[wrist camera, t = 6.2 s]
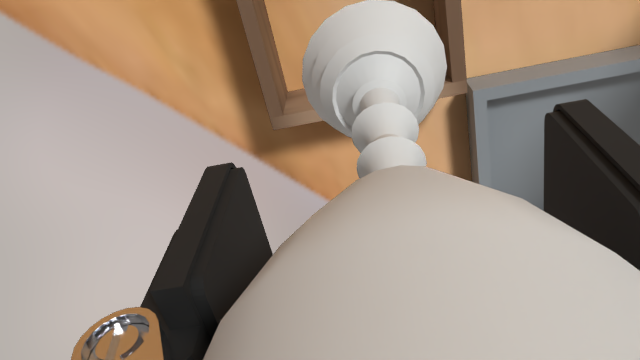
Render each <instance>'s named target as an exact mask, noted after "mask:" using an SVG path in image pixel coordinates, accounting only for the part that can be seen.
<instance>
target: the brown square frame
mask: <svg viewBox="0 0 640 360" xmlns="http://www.w3.org/2000/svg"><path fill="white" fill-rule="evenodd" d="M236 1H237V5H238V8H239V12H240V15H241V19H242V22H243V26H244V29H245V33H246V36H247V40H248V43H249V47H250V50H251V54H252V57H253V61H254V64H255V68H256V71H257V75H258V78H259V82H260V85H261V89H262V92H263V96H264V99H265V103H266V106H267V110H268V113H269V117H270V120H271V124H272V127H273V130H277V129H283V128H288V127H293V126H298V125H303V124H309V123H314V122H319V121H324V120H323V119H321V118H320V117H319V115H318V114H317V112H316V111H315V109H314V108H313V107H312V105H311V104H310V102H309V101H308V98H307V95H306V91H305V89H300V90H295V91H290V92H288V91H287V88H286V84H285V80H284V76H283V72H282V68H281V64H280V61H279V57H278V53H277V49H276V45H275V41H274V37H273V34H272V30H271V26H270V22H269V18H268V14H267V10H266V7H265V3H264V0H236ZM433 3H434V13H435V23H436V32H437V33H438V35H439V37H440V39H441V41H442V43H443V45H444V50H445V57H446V63H447V70H446V75H445V81H444V87H443V90H442V91H441V93H440V95H439V97H438V99H439V98H444V97H449V96H455V95H460V94H465V93H468V92H467V78H466V65H465V51H464V37H463V23H462V9H461V0H433Z"/></svg>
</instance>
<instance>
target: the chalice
mask: <svg viewBox="0 0 640 360" xmlns="http://www.w3.org/2000/svg"><path fill="white" fill-rule="evenodd" d="M446 70H447V63H446V57H445V50H444V45H443V43H442V41H441V39H440V37H439V35H438V33H437V32H436V30H435V28H434V26H433V25H432V24H431V23H430V22H429V21H428V20H427V19H425V18H424V17H423V16H422V15H421V14H420V13H419V12H418V11H416V10H415V9H412V8H410V7H407V6H405V5H402V4H400V3H397V2H395V1H385V0H366V1H363V2H359V3H356V4H352V5H348V6H345V7H344V8H342V9H341V10H339V11H338V12H336V13H335V14H333V15H332V16H330V17H329V18H327V19H326V20H325V21H324V22H323V23H322V25H321V26H320V27H319V28H318V30H317V31H316V32H315V33H314V35H313V36H312V37H311V39H310V42H309V44H308V47H307V50H306V52H305V55H304V58H303V75H302V81H303V85H304V88H305V91H306V95H307V98H308V101H309V102H310V104H311V105H312V107H313V108H314V109H315V111H316V112H317V114H318V115H319V117H320V118H321V119H323V120H324V121H325V122H327V123H328V124H329V125H331V126H332V127H333V128H335V129H336V130H338V131H340V132H341V133H343V134H345V135H346V136H348V137H351V138H352V140H353V143H354V145H355V147H356V148H357V149H358V151H359V152H360V153H361V154H360V156H359V158H358V161H357V172H358V176H359V178H360V179H358V180H356V181H355V182H354V183H352V184H351V185H350V186H349V187H347V188H346V189H345V190H344V191H342V192H341V193H340V194H339V195H337V196H336V197H335V198H334V199H332V200H331V201H330V202H329V203H327V204H326V205H325V206H324V207H322V208H321V209H320V210H318V211H317V212H316V213H315V214H314V215H312V216H311V218H309V219H308V220H307V221H306V222H305V223H304V224H303V225H302V226H301V227H300V228H299V229H297V230H296V231H295V232H294V233H293V234H292V235H291V236H290V237H289V238H288V239H287V240H286V241H285V242H284V243H282V244H281V245H280V247H279V248H278V249H277V250H276V252H275V253H274V254H273V255H272V257H271V258H270V259H269V260H268V262H267V263H266V264H265V265H264V267H263V268H262V269H261V270H260V272H259V273H258V274H257V276H256V277H255V278H254V279H253V281H252V282H251V283H250V284H249V286H248V287H247V288H246V289H245V291H244V292H243V293H242V294H241V296H240V297H239V298H238V299H237V301H236V302H235V303H234V304H233V306H232V307H231V308H230V310H229V311H228V312H227V313H226V315H225V316H224V317H223V318H222V320H221V321H220V323H219V325H218V327H217V330H216V332H215V334H214V336H213V339H212V341H211V343H210V345H209V347H208V350H207V352H206V354H205V356H204V359H203V360H640V271H639V270H638V269H637V268H635V267H634V266H632V265H631V264H630V263H628V262H627V261H626V260H624V259H623V258H622V257H620V256H619V255H618V254H616V253H615V252H613V251H611V250H610V249H608V248H606V247H604V246H603V245H601V244H599V243H598V242H596V241H594V240H592V239H591V238H589V237H587V236H586V235H584V234H582V233H580V232H579V231H577V230H575V229H574V228H572V227H570V226H568V225H567V224H565V223H563V222H562V221H560V220H558V219H556V218H555V217H553V216H551V215H550V214H548V213H546V212H544V211H543V210H541V209H539V208H538V207H536V206H534V205H532V204H531V203H529V202H527V201H526V200H524V199H522V198H519V197H516V196H513V195H510V194H507V193H504V192H501V191H498V190H495V189H492V188H489V187H486V186H483V185H480V184H477V183H474V182H471V181H468V180H465V179H462V178H459V177H456V176H453V175H450V174H447V173H444V172H441V171H438V170H435V169H431V168H428V167H426V164H427V163H426V158H425V154H424V152H423V151H422V149H421V148H420V146H419V145H417V144H416V143H415V142H416V140H417V138H418V133H419V127H418V124H419V123H420V122H421V121H422V120H423V119H424V118H425V117H426V115H427V114H428V113H429V111H430V110H431V109H432V108H433V106H434V105H435V103H436V101H437V99H438V97H439V95H440V93H441V91H442V90H443V87H444V81H445V75H446Z"/></svg>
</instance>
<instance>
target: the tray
mask: <svg viewBox="0 0 640 360" xmlns="http://www.w3.org/2000/svg"><path fill="white" fill-rule="evenodd" d="M467 92H468V93H466V104H467V117H468V131H469V144H470V158H471V171H472V182H474V183H477V184H480V185H483V186H486V187H489V188H492V189H495V190H498V191H501V192H504V193H507V194H510V195H513V196H516V197H519V198H522V199H524V200H526V201H527V202H529V203H531V204H532V205H534V206H536V207H538V208H539V209H541V210H543V211H544V119H545V115H546V113H550V112H553V109H554V107H555V105H556V104H561V103H567V102H572V101H578V100H583V99H587V100H589V101H590V102H591V103H592V104H593V105H594V106H595V107H597V108H598V109H599V110H600V111H601V112H602V113H603V114H605V115H606V116H607V117H608V118H609V119H610V120H611V121H613V122H614V123H615V124H616V125H617V126H618V127H619V128H621V129H622V130H623V131H624V132H625V133H626V134H627V135H629V136H630V137H631V138H632V139H633V140H634V141H635V142H637V143H638V144H639V145H640V45H637V46H631V47H626V48H621V49H616V50H611V51H606V52H601V53H596V54H590V55H585V56H580V57H575V58H570V59H565V60H560V61H555V62H549V63H544V64H539V65H534V66H529V67H524V68H519V69H514V70H509V71H503V72H498V73H493V74H488V75H483V76H478V77H473V78H468V79H467Z"/></svg>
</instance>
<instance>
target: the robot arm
mask: <svg viewBox="0 0 640 360" xmlns="http://www.w3.org/2000/svg"><path fill="white" fill-rule="evenodd" d="M544 212H546V213H548V214H550V215H551V216H553V217H555V218H556V219H558V220H560V221H562V222H563V223H565V224H567V225H568V226H570V227H572V228H574V229H575V230H577V231H579V232H580V233H582V234H584V235H586V236H587V237H589V238H591V239H592V240H594V241H596V242H598V243H599V244H601V245H603V246H604V247H606V248H608V249H610V250H611V251H613V252H615V253H616V254H618V255H619V256H620V257H622V258H623V259H624V260H626V261H627V262H628V263H630V264H631V265H632V266H634V267H635V268H637V269H638V270H639V271H640V145H639V144H638V143H637V142H635V141H634V140H633V139H632V138H631V137H630V136H629V135H627V134H626V133H625V132H624V131H623V130H622V129H621V128H619V127H618V126H617V125H616V124H615V123H614V122H613V121H611V120H610V119H609V118H608V117H607V116H606V115H605V114H603V113H602V112H601V111H600V110H599V109H598V108H597V107H595V106H594V105H593V104H592V103H591V102H590V101H589V100H587V99H583V100H578V101H572V102H567V103H561V104H556V105H555V107H554V109H553V112H550V113H546V115H545V119H544ZM272 255H273V254H272V251H271V248H270V245H269V242H268V239H267V236H266V233H265V230H264V227H263V224H262V221H261V218H260V215H259V212H258V209H257V206H256V203H255V200H254V197H253V194H252V190H251V188H250V184H249V182H248V178H247V175H246V173H245V170H244V169H243V168H242V167H241V168H236V167H235V165H234V164H233V163H227V164H221V165H216V166H210V167H207V168H206V169H205V171H204V174H203V176H202V178H201V180H200V183H199V185H198V187H197V189H196V191H195V193H194V195H193V198H192V200H191V202H190V205H189V206H188V209H187V211H186V213H185V215H184V217H183V220H182V222H181V224H180V226H179V229H178V230H176V232H175V233H174V235H173V237H172V239H171V242H170V244H169V246H168V248H167V250H166V252H165V254H164V257H163V259H162V261H161V263H160V265H159V268H158V270H157V272H156V274H155V276H154V278H153V280H152V283H151V285H150V287H149V289H148V291H147V293H146V296H145V298H144V300H143V302H142V304H141V306H140V307H134V308H126V309H123V310H120V311H116V312H114V313H112V314H110V315H108V316H106V317H104V318H102V319H101V320H100V321H98V322H97V323H95V324H94V325H93V326H91V327H90V328H89V329H88V330H87V331H86V332H85V333H84V335H82V336H81V338H80V339H79V341H78V342H77V344H76V345H75V347H74V350H73V353H72V357H71V360H203V359H204V356H205V354H206V352H207V350H208V347H209V345H210V343H211V341H212V339H213V336H214V334H215V332H216V330H217V327H218V325H219V323H220V321H221V320H222V318H223V317H224V316H225V315H226V313H227V312H228V311H229V310H230V308H231V307H232V306H233V304H234V303H235V302H236V301H237V299H238V298H239V297H240V296H241V294H242V293H243V292H244V291H245V289H246V288H247V287H248V286H249V284H250V283H251V282H252V281H253V279H254V278H255V277H256V276H257V274H258V273H259V272H260V270H261V269H262V268H263V267H264V265H265V264H266V263H267V262H268V260H269V259H270V258H271V257H272Z"/></svg>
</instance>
